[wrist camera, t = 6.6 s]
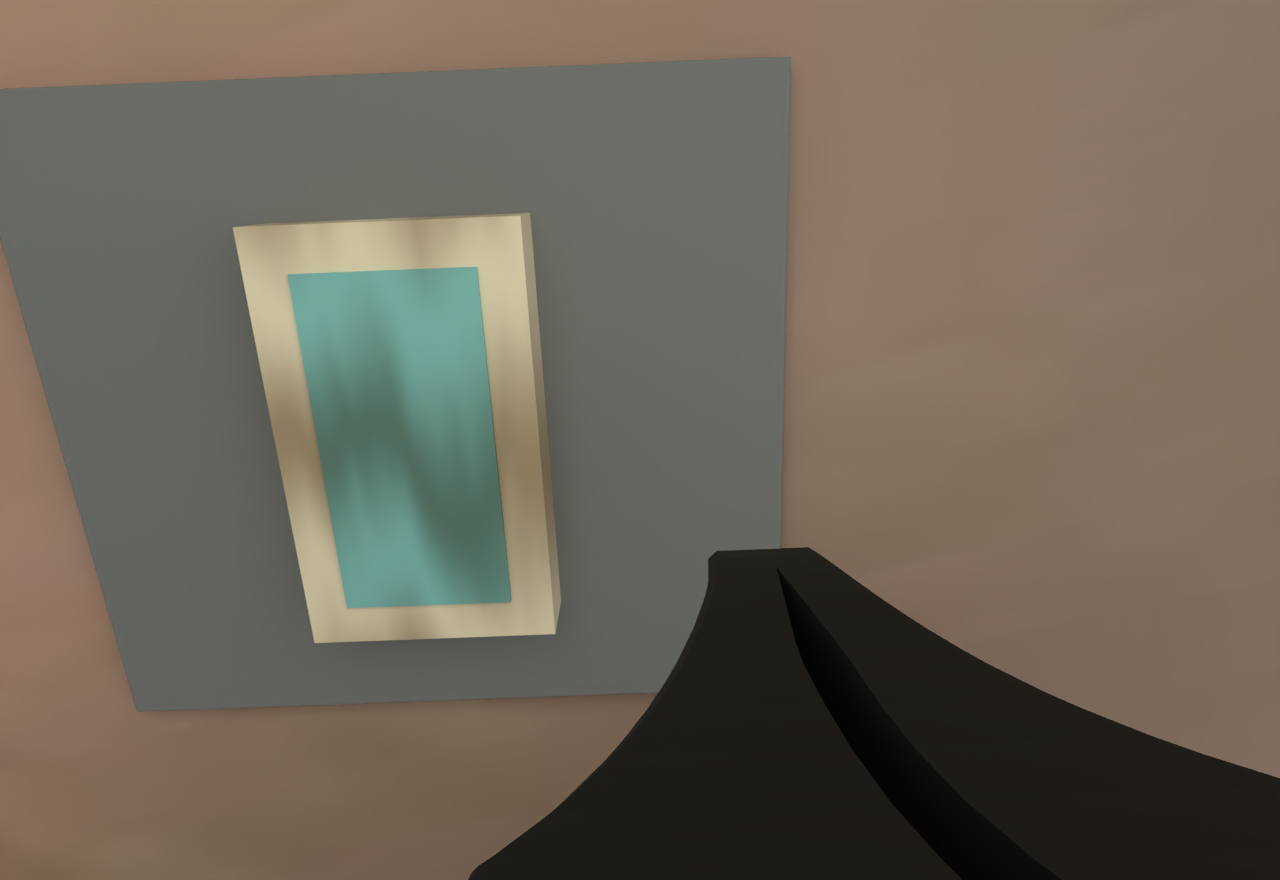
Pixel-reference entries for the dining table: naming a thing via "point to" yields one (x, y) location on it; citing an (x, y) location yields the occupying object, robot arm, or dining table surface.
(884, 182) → the dining table surface
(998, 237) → the dining table surface
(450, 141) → the mat
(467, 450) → the slab
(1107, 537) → the dining table surface
